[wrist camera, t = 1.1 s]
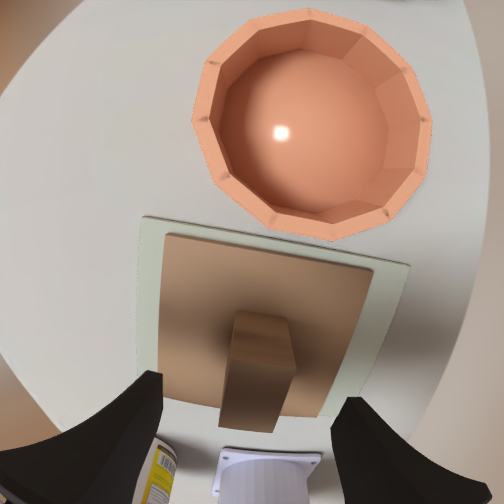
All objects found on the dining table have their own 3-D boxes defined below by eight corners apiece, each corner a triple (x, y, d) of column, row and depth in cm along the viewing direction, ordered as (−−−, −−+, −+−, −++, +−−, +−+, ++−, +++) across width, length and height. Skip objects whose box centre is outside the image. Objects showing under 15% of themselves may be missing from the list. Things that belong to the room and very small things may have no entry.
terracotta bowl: (374, 237, 14) (407, 256, 10) (195, 203, 13) (175, 212, 10) (400, 76, 11) (434, 56, 8) (230, 32, 11) (224, -5, 7)
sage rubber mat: (345, 412, 17) (346, 416, 16) (140, 385, 16) (138, 388, 16) (407, 264, 14) (410, 266, 13) (144, 216, 13) (141, 217, 13)
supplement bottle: (109, 442, 18) (72, 528, 8) (127, 418, 17) (83, 524, 7) (163, 470, 19) (141, 558, 9) (190, 450, 18) (170, 558, 8)
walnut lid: (315, 411, 16) (327, 465, 12) (160, 389, 16) (139, 442, 11) (369, 268, 14) (413, 306, 9) (168, 232, 13) (129, 259, 9)
